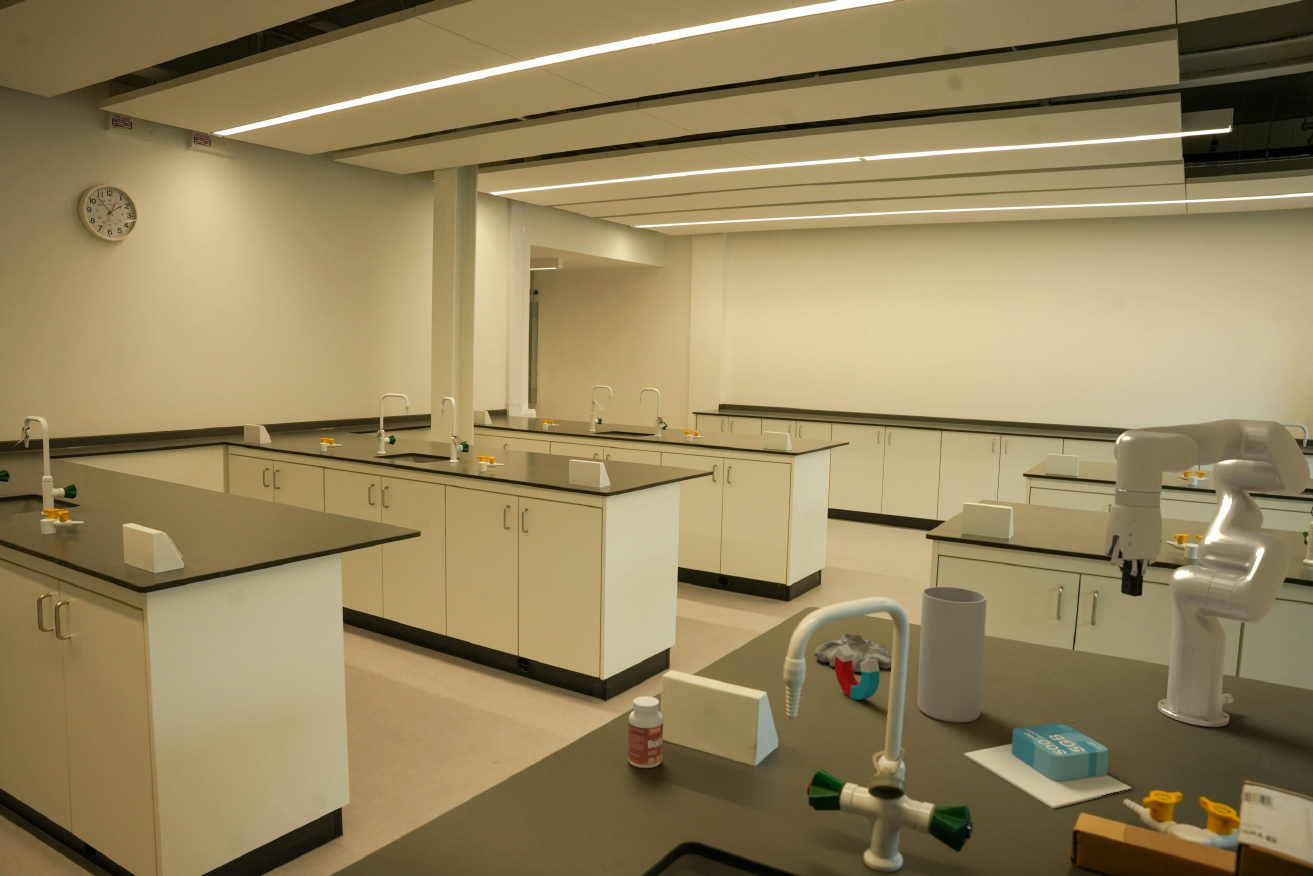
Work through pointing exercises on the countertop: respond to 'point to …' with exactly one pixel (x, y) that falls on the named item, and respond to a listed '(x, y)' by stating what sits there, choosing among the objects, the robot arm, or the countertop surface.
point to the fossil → (854, 651)
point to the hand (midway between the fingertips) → (1131, 594)
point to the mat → (1043, 779)
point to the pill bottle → (645, 733)
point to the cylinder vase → (951, 653)
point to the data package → (1060, 752)
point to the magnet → (847, 678)
